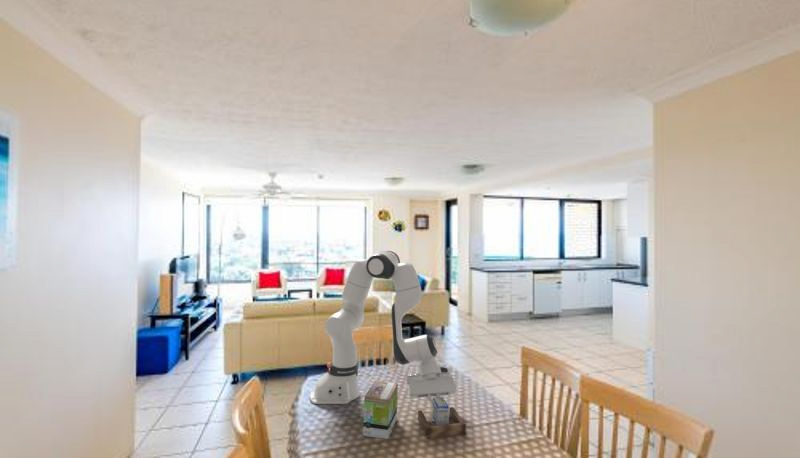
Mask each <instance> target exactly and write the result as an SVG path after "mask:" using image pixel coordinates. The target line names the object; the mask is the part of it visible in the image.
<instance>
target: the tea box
mask: <svg viewBox="0 0 800 458" xmlns="http://www.w3.org/2000/svg"><path fill="white" fill-rule="evenodd" d="M398 388H399V386H398V383H397V382H389V381H388V382H386V381H378V380H375V381H374V382H373V383H372V385H371V386H370V388H369V389H368V391H367V392H366V393H365V395H364V397H363V398H364V403H363V426H362V428H363V429H362V436H365V437H371V438H377V439H385V440H388V439H389V437H390V435H391V433H392V431H393V428H394V426H395V423H396V421H397V419H398V392H399V389H398Z"/></svg>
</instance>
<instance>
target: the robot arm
mask: <svg viewBox="0 0 800 458" xmlns="http://www.w3.org/2000/svg"><path fill="white" fill-rule="evenodd" d="M374 278H375V279H381V280H382V279H383V280H389V279H391V281H392V282H393V285H394V289H395V293H396V294H395V300H394V301H395V302H393V304H392V306H391V326H392V355H393V358H394V361H395V363H397V364H400V365H402V366H404V365H407V364H410V363H413V362H417V370H418V371H417V372H418V373H414V374H413V373H412V374H411V373H410V374H409V375H407V376H406V378H405V379H406V384H407V385H408V389H407V390H408V397H409V398H411V399H416V398H427V400H428V402H429V403H430V406H431V408H433V398H432V397H442V396H450V395H451V396H452V395H453V396H454V395H455V394H456V392H457V385H456V381H455V380H454V377H453V375H452V374H451V369H450V368H449V367H444V366H442V365H439V364H438V362H437V360H436V358H437V357H436V356H437V354H438V349H437V346H436V339H434V338H433V337H432V336H431V335H429V334H422V335H417V336H414V337H409V338H403V329H402V328H403V327H402V326H403V325H402V320H403V317H404V316H405V315H407V314H408V313H409V312H411V311H412V310H413V309H415V308H416V307H418V305H419V304H420V303H421V301H422V298H423V294H422V293H423V292H422V291H423V290H422V287H421V283H420V280H419V276H418V274H417V271H416V269H415V267H414V265H413V264H412V263H410V262H401V259H400V257H399V255H398V254H397V253H396V252H394V251H392V250H386V251H385V250H384V251H379V252H377V253H373V254H372V255H371V256H369V258H368V259H367V258H359V259H357V260H355V261H354V263H353V265H352V267H351V269H350V271H349V273H348V276H347V278H346V281H345V285H344V287H343V290H342V293H341V297H342V306H341V308H340V310H339V311H337V312H334V313H333V314H331V315H330V316H329V317H328V318H327V319H326V321H325V322H324V323H325V324H324V331H325V333H326V335H327V336H328V337H329V338H330V342H331V346H332V362H327V364H326V367H327V372H326V373H325V374H324V375H322V376H321V377H320V378H318V379H317V381H316V385H315V387H314V388H313V389H312V390H311V391H310V394H309V400H310V402H311V403H312V404H313V405H314V404H315V405H347V404H349V403H350V402H351V401H354V400H356V399H357V398H359V397H360V396H361V391H360V388H359V381H358V374H359V363H358V346H357V344H356V343H355V340H354V335H353V334H354V331H356V330H357V329H359V328H360V327H361V326H362V324H363V323H364V320H365V313H364V311H365V304H366V300H367V297H368V294H369V291H370V289H371V286H372V282H373V280H374Z"/></svg>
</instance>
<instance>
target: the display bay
mask: <svg viewBox="0 0 800 458" xmlns="http://www.w3.org/2000/svg"><path fill="white" fill-rule="evenodd" d="M449 417H450V419H451V421H452V423H449V424H445V425H436V424H435V425H430V423H429V422H428V419H427V418H426V416H425V414H424V413H423V410H422V409H418V410H417V421H418V422H419V425H420V426H421V428H422V431H423V433H424V436H425V437H426V438H427V439H430V438H431V439H432V438H439V437H440V436H442V437H446V436H447V437H449V436H451V437H452V436H457V435H458V436H459V435H466V434H467V433H466V431H467V429H466V427H467V424H466V423H465V421H464V419H462V417H461V416H460V414H459V413H458V412H457V410H456V409H455V407H453V406H452V407H451V406H449ZM440 438H441V437H440Z"/></svg>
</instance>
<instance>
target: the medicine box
mask: <svg viewBox="0 0 800 458" xmlns="http://www.w3.org/2000/svg"><path fill="white" fill-rule="evenodd" d="M432 400H433V407H432V420H433V421H434V424H435V425H445V424H450V423H449V420H450V419H449V417H450V406H449V405H448V403H447V401H446V399H445V397H443V396H440V397H436V396H433V398H432Z"/></svg>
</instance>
